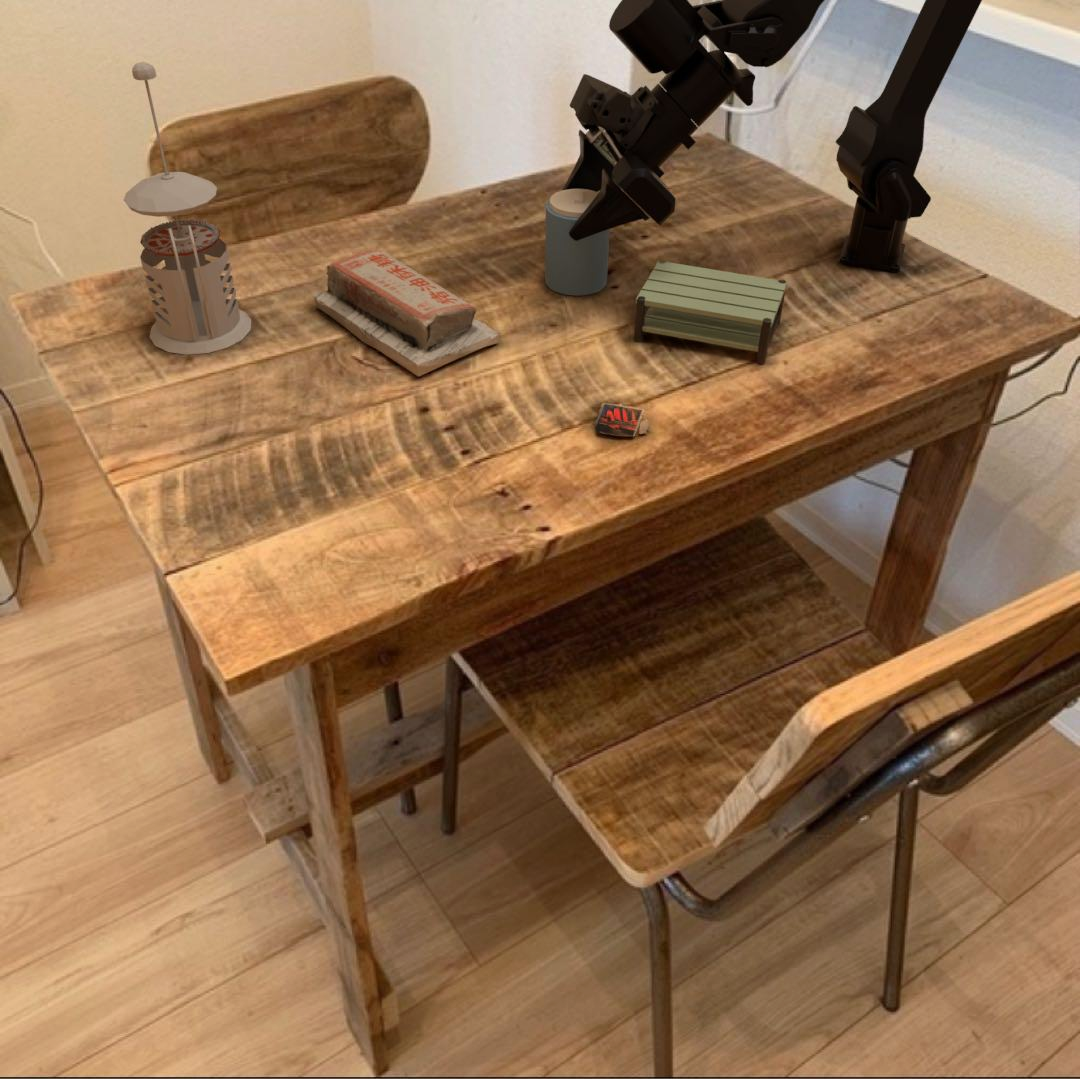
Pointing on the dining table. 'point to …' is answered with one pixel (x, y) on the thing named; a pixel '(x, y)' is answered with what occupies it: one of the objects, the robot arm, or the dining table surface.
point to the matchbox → (620, 420)
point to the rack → (710, 307)
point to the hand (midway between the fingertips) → (564, 222)
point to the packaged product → (401, 312)
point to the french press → (185, 260)
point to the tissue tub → (573, 247)
